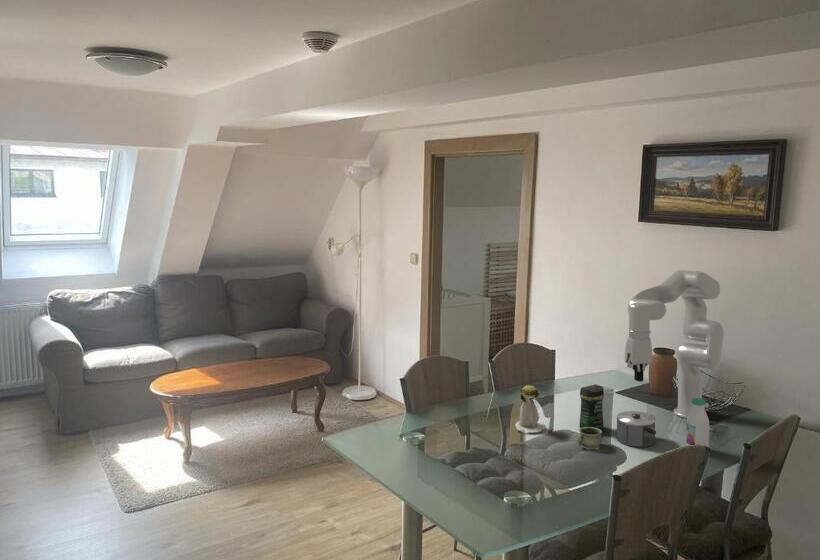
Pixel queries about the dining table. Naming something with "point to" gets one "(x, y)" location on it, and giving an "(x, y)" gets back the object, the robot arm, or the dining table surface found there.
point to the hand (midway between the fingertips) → (638, 380)
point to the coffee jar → (591, 406)
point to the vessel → (590, 437)
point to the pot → (636, 435)
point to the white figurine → (529, 411)
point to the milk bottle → (697, 424)
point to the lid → (636, 418)
